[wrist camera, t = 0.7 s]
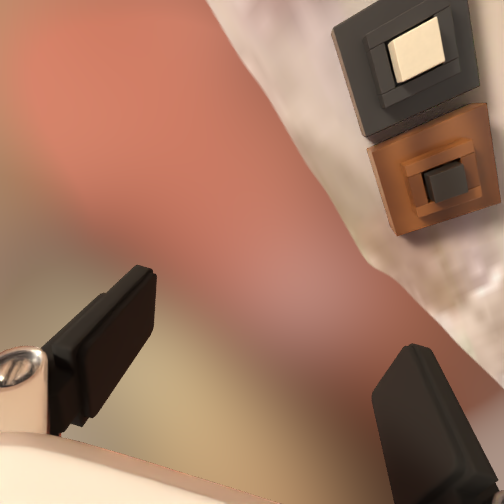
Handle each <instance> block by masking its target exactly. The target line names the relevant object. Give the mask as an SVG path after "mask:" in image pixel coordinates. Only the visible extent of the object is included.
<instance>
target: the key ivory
mask: <svg viewBox="0 0 504 504" xmlns="http://www.w3.org/2000/svg"><path fill="white" fill-rule="evenodd" d="M388 48H389V52H390V56H391V60H392V64H393V68H394V72H395V77H396V81H397V83H401V82H404V81H406V80H408V79H410V78H412V77H414V76H417V75H419V74H421V73H423V72H425V71H427V70H429V69H431V68H433V67H435V66H437V65H439V64H441V63H443V62H444V61H445V56H444V51H443V45H442V40H441V35H440V29H439V24H438V18H437V17H434V18H433V19H431V20H429V21H427V22H425V23H423V24H422V25H420V26H418V27H416V28H414V29H413V30H411V31H409V32H407V33H405V34H403V35H402V36H400V37H398V38H396V39H394V40H393V41H391V42H390V43H389V44H388Z"/></svg>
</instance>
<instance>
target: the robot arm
mask: <svg viewBox="0 0 504 504" xmlns="http://www.w3.org/2000/svg"><path fill="white" fill-rule="evenodd" d="M156 282H157V275H156V274H154V273H153V270H152V269H150V268H147V267H143V266H140V265H136V266H134V267H133V268H132V269H131V270H130V271H129V272H128V273H127V274H126V275H125V276H124V277H123V278H121V279H120V280H119V281H118V282H117V283H116V284H115V285H114V286H113V287H112V288H111V289H110V290H109V291H108V292H107V293H102V294H100V295H98V296H97V297H96V298H95V299H94V300H93V301H92V302H91V303H90V304H89V305H88V306H86V307H85V308H84V309H83V310H82V311H81V312H80V313H79V314H77V315H76V316H75V317H74V318H73V319H72V320H71V321H70V322H69V323H68V324H67V325H66V326H64V327H63V328H62V329H61V330H60V331H59V332H58V333H57V334H56V335H55V336H53V337H52V338H51V339H50V340H49V341H48V342H47V343H46V344H45V345H44V346H43V347H41V348H37V347H34V346H20V347H14V348H11V349H7V350H5V351H3V352H1V353H0V504H281V503H278V502H274V501H271V500H268V499H265V498H262V497H259V496H256V495H252V494H249V493H246V492H243V491H240V490H237V489H234V488H230V487H227V486H224V485H221V484H218V483H215V482H211V481H208V480H205V479H202V478H199V477H195V476H192V475H189V474H186V473H182V472H179V471H176V470H173V469H170V468H167V467H163V466H160V465H157V464H154V463H151V462H147V461H144V460H141V459H137V458H134V457H131V456H128V455H124V454H121V453H118V452H114V451H111V450H107V449H103V448H100V447H97V446H93V445H90V444H87V443H83V442H80V441H75V440H71V439H67V438H62V437H61V433H62V432H64V431H65V430H66V429H67V428H68V426H69V425H70V424H74V425H77V426H80V427H83V425H84V424H85V422H86V421H87V419H88V418H89V417H90V418H93V417H95V416H96V415H97V413H98V412H99V410H100V409H101V408H102V406H103V405H104V403H105V401H106V400H107V399H108V397H109V396H110V394H111V393H112V391H113V390H114V388H115V387H116V385H117V384H118V382H119V381H120V379H121V378H122V377H123V375H124V374H125V372H126V371H127V369H128V368H129V366H130V365H131V363H132V362H133V360H134V359H135V357H136V356H137V354H138V353H139V351H140V350H141V348H142V347H143V345H144V344H145V343H146V341H147V339H148V338H149V337H150V335H151V333H152V331H153V327H154V313H155V298H156ZM372 404H373V409H374V413H375V418H376V422H377V427H378V431H379V436H380V440H381V445H382V449H383V454H384V458H385V462H386V467H387V472H388V476H389V481H390V485H391V490H392V494H393V498H394V503H395V504H504V490H501V491H499V489H498V487H497V485H496V483H495V482H497V481H498V478H497V476H496V475H495V473H494V471H493V469H492V467H491V465H490V463H489V461H488V459H487V457H486V455H485V453H484V451H483V449H482V447H481V445H480V443H479V441H478V440H477V437H476V436H475V434H474V432H473V430H472V428H471V426H470V424H469V422H468V420H467V418H466V416H465V414H464V412H463V410H462V408H461V406H460V405H459V402H458V400H457V399H456V397H455V395H454V393H453V391H452V389H451V387H450V385H449V383H448V381H447V379H446V377H445V375H444V373H443V371H442V369H441V367H440V366H439V364H438V362H437V360H436V358H435V356H434V354H433V352H432V350H431V349H429V348H427V347H424V346H420V345H417V344H410V345H409V346H404V347H403V348H402V350H401V351H400V353H399V354H398V356H397V357H396V359H395V360H394V362H393V363H392V364H391V366H390V367H389V369H388V370H387V372H386V373H385V375H384V376H383V377H382V379H381V380H380V382H379V383H378V385H377V386H376V388H375V389H374V391H373V393H372Z"/></svg>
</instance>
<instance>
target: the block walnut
mask: <svg viewBox="0 0 504 504" xmlns="http://www.w3.org/2000/svg"><path fill="white" fill-rule="evenodd" d="M367 152H368V155H369V159H370V162H371V165H372V168H373V172H374V175H375V178H376V181H377V185H378V188H379V191H380V194H381V198H382V201H383V204H384V207H385V211H386V214H387V217H388V220H389V224H390V227H391V228H392V230H393V231H394V233H395V234H396V235H397V236H400V235H403V234H406V233H409V232H412V231H415V230H418V229H421V228H424V227H427V226H431V225H434V224H437V223H440V222H443V221H446V220H449V219H452V218H455V217H458V216H461V215H465V214H468V213H471V212H474V211H477V210H480V209H483V208H486V207H489V206H492V205H495V204H498V203H501V199H500V192H499V185H498V178H497V171H496V164H495V157H494V150H493V144H492V137H491V130H490V123H489V116H488V109H487V103H470V104H468V105H465V106H463V107H461V108H459V109H456V110H454V111H452V112H449V113H447V114H445V115H443V116H440V117H438V118H436V119H433V120H431V121H429V122H427V123H424V124H422V125H420V126H417V127H415V128H413V129H411V130H408V131H406V132H404V133H401V134H399V135H397V136H395V137H392V138H390V139H388V140H385V141H383V142H381V143H379V144H376V145H374V146H372V147H369V148H367ZM455 161H456V162H459V163H462V164H464V170H465V175H466V180H467V186H468V191H469V192H467V193H464V194H461V195H458V196H456V197H453V198H450V199H447V200H444V201H441V202H438V203H435V202H433V201H432V200H431V199H430V198H429V194H428V190H427V186H426V182H425V177H424V173H426V172H429V171H431V170H434V169H436V168H439V167H442V166H444V165H447V164H449V163H452V162H455Z"/></svg>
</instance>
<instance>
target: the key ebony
mask: <svg viewBox="0 0 504 504" xmlns="http://www.w3.org/2000/svg"><path fill="white" fill-rule="evenodd" d="M424 177H425V182H426V186H427V190H428V194H429V198H430V199H431V200H432V201H433V202H435V203H438V202H441V201H444V200H447V199H450V198H453V197H456V196H458V195H461V194H464V193H467V192H469V191H468V186H467V180H466V175H465V170H464V164H462V163H459V162H456V161H455V162H452V163H449V164H447V165H444V166H442V167H439V168H436V169H434V170H431V171H429V172H426V173H424Z"/></svg>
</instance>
